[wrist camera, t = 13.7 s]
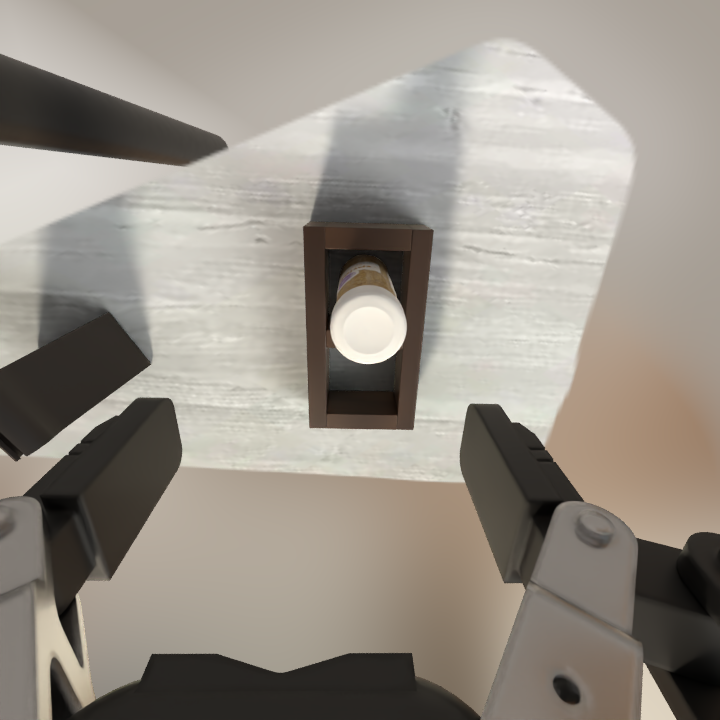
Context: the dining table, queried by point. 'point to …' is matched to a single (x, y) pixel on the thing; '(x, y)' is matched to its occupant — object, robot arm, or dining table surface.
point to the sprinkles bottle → (367, 312)
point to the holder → (323, 402)
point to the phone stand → (63, 383)
